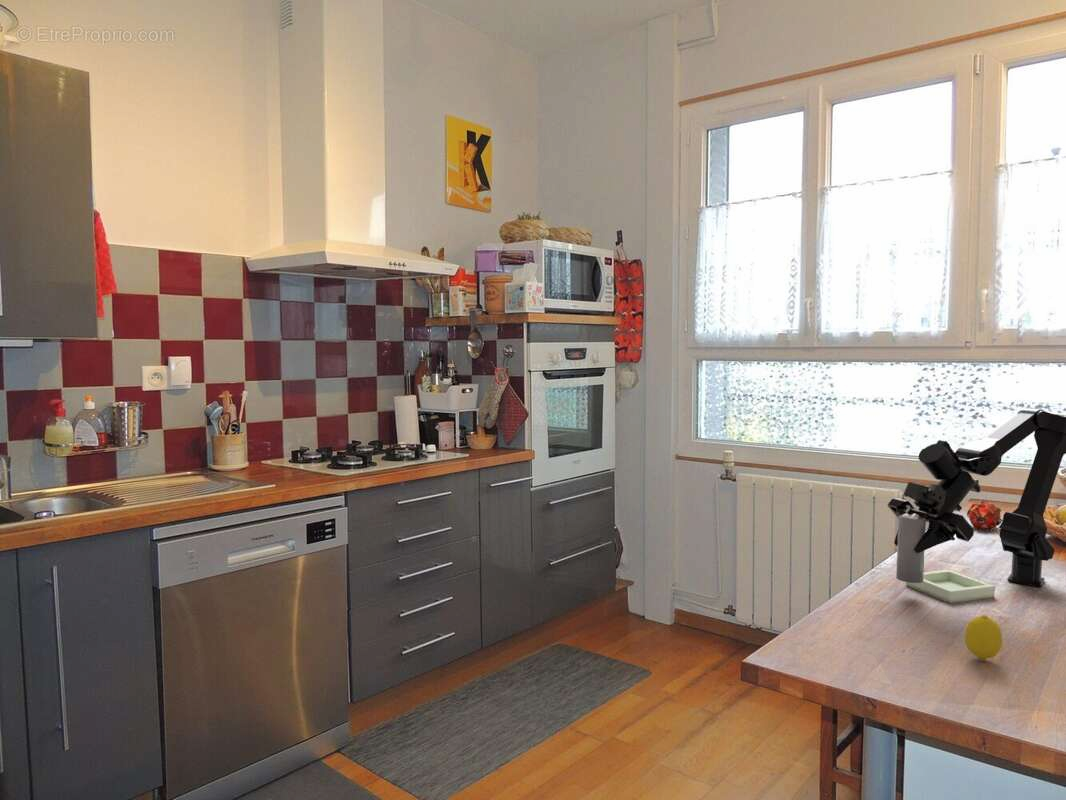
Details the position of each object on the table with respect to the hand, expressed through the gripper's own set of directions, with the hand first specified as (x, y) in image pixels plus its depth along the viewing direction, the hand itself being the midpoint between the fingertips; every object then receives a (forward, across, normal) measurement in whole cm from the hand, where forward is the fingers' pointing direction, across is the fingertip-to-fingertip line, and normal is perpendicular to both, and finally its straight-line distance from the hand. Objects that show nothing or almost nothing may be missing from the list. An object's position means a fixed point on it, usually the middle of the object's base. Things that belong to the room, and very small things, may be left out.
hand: (905, 548), depth 161 cm
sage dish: (-1, 0, +16) cm, 16 cm away
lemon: (+16, +30, 0) cm, 34 cm away
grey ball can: (+4, 0, +6) cm, 7 cm away
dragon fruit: (-39, -40, +55) cm, 79 cm away
